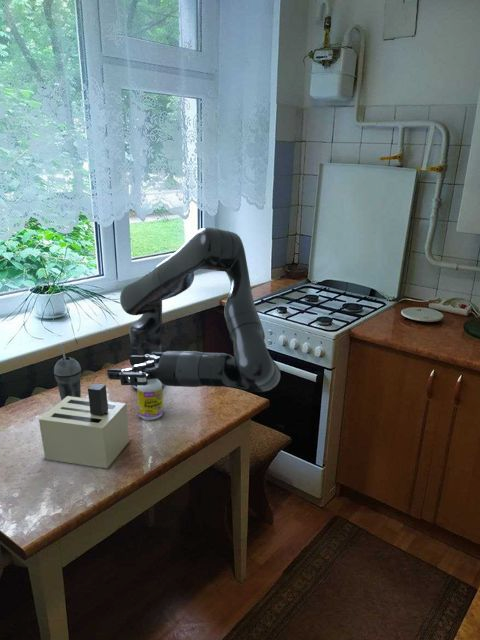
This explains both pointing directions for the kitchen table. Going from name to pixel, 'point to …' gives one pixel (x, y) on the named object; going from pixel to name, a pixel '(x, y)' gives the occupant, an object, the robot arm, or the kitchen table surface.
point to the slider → (98, 399)
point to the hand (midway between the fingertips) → (119, 366)
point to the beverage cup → (68, 376)
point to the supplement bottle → (150, 400)
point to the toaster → (84, 433)
